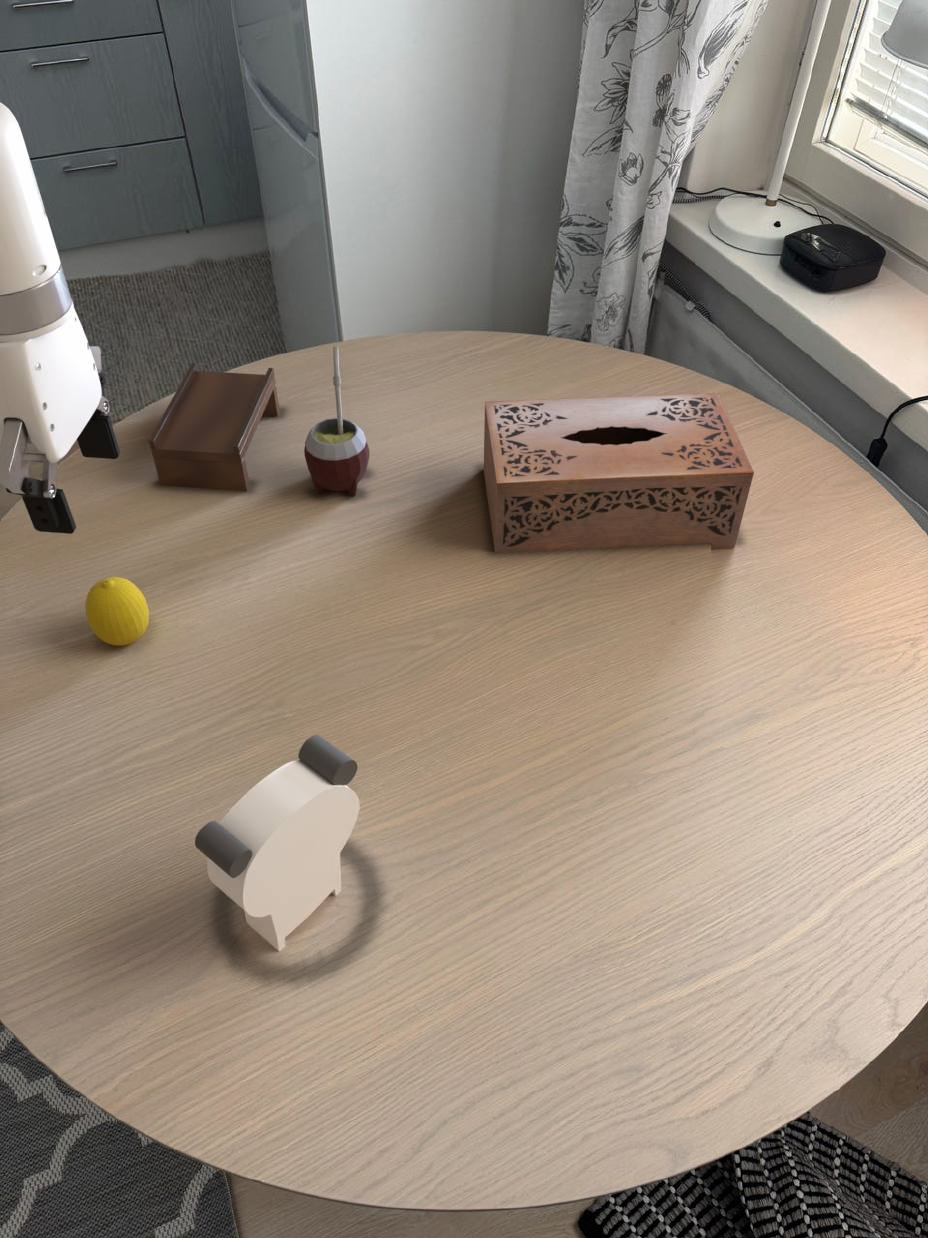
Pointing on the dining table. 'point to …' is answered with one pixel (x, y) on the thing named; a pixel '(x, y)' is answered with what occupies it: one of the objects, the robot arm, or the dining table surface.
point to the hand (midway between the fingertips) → (80, 491)
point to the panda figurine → (285, 840)
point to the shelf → (212, 428)
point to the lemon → (117, 611)
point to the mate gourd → (336, 449)
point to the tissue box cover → (613, 472)
